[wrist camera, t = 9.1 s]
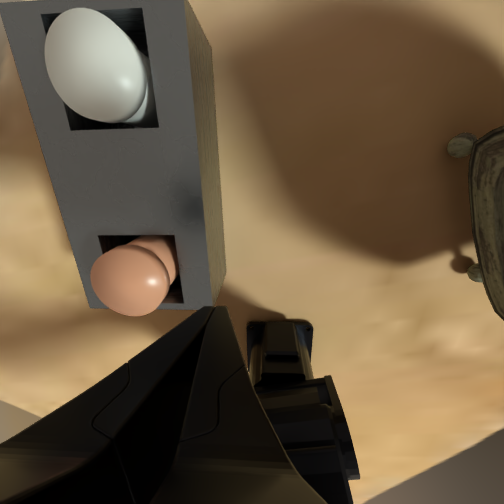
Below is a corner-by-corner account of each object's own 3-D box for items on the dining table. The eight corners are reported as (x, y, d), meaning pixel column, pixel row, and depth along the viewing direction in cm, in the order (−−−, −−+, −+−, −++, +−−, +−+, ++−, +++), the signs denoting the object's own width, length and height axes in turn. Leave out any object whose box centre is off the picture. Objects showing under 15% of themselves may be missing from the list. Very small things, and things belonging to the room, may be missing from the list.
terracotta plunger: (194, 276, 20) (168, 316, 15) (142, 276, 21) (100, 315, 15) (188, 224, 19) (157, 250, 13) (132, 225, 19) (81, 250, 14)
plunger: (181, 131, 17) (144, 119, 12) (122, 133, 18) (60, 121, 12) (173, 55, 16) (126, 4, 11) (107, 59, 16) (30, 10, 11)
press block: (226, 272, 23) (213, 310, 17) (132, 272, 23) (90, 308, 18) (211, 47, 17) (182, -10, 11) (85, 54, 17) (-4, 2, 12)
